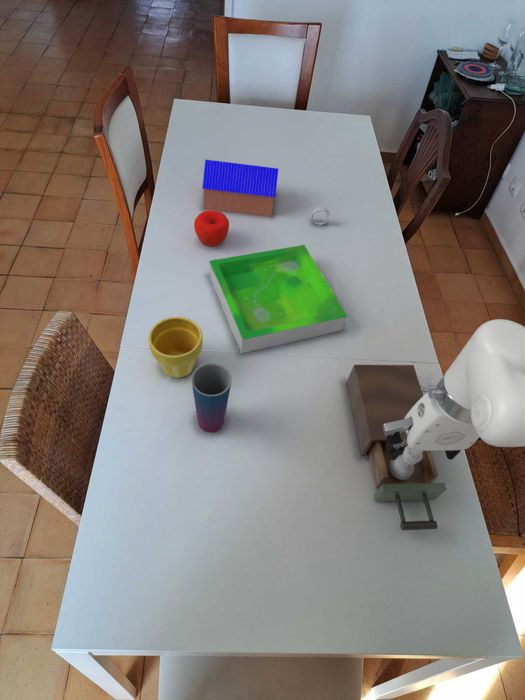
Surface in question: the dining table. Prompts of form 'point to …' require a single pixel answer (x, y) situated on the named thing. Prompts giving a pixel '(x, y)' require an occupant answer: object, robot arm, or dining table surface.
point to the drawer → (406, 484)
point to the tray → (275, 298)
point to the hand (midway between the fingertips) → (418, 451)
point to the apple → (211, 227)
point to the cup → (211, 395)
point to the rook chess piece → (405, 463)
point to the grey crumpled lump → (318, 211)
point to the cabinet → (380, 399)
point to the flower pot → (176, 345)
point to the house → (239, 187)
